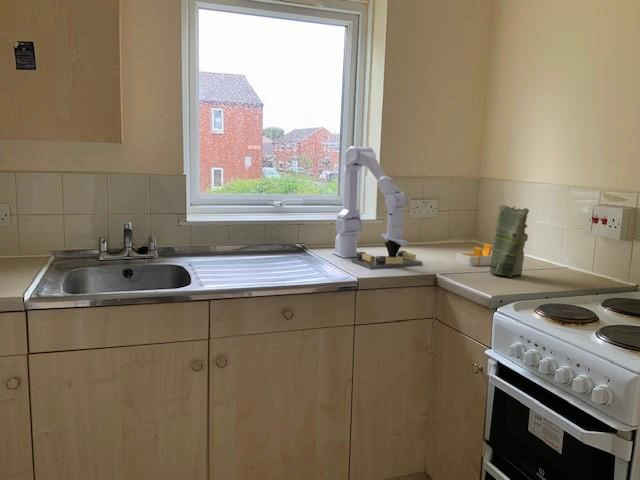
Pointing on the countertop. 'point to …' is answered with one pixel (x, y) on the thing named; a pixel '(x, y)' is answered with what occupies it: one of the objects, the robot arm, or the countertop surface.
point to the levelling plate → (386, 265)
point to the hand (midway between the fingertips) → (392, 261)
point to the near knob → (388, 259)
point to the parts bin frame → (473, 259)
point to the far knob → (406, 255)
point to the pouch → (509, 242)
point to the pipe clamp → (479, 252)
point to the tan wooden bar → (365, 256)
